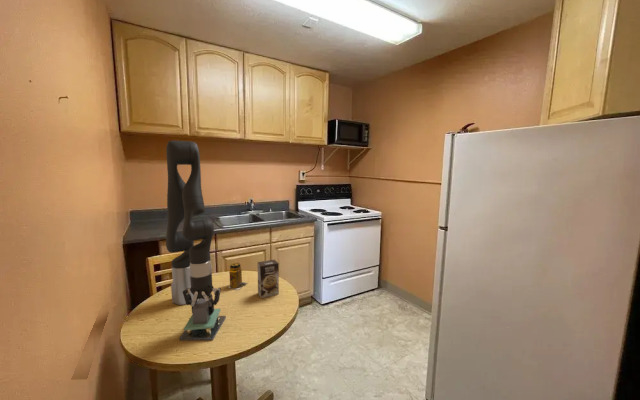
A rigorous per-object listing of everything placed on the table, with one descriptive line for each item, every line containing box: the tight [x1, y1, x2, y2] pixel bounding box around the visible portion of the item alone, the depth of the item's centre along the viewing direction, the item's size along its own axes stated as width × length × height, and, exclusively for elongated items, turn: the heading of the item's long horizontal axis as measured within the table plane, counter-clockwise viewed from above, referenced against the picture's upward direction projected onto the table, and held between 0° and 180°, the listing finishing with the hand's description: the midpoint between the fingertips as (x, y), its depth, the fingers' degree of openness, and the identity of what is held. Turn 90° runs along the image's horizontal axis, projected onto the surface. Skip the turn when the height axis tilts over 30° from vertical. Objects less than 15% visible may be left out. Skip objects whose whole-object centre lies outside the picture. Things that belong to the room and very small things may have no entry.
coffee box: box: [257, 259, 280, 299], centre depth 130 cm, size 9×6×16 cm
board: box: [183, 298, 221, 331], centre depth 102 cm, size 10×12×7 cm
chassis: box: [179, 314, 227, 341], centre depth 102 cm, size 12×14×4 cm
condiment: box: [226, 262, 248, 291], centre depth 138 cm, size 7×8×12 cm
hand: (203, 314), depth 102 cm, fingers closed on board, 5 cm apart
